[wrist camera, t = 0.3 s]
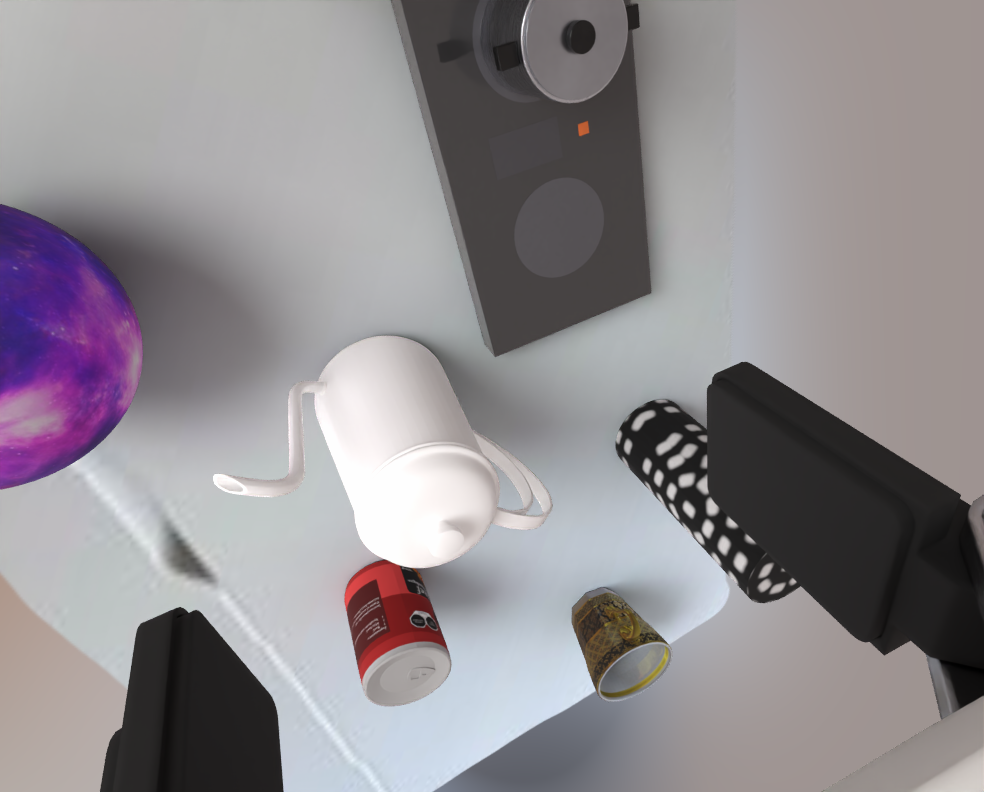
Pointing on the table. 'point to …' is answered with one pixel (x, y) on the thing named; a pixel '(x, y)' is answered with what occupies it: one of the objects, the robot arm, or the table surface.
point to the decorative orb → (59, 349)
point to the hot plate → (529, 181)
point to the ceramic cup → (618, 646)
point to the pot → (556, 45)
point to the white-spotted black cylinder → (695, 494)
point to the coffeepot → (403, 455)
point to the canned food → (395, 634)
